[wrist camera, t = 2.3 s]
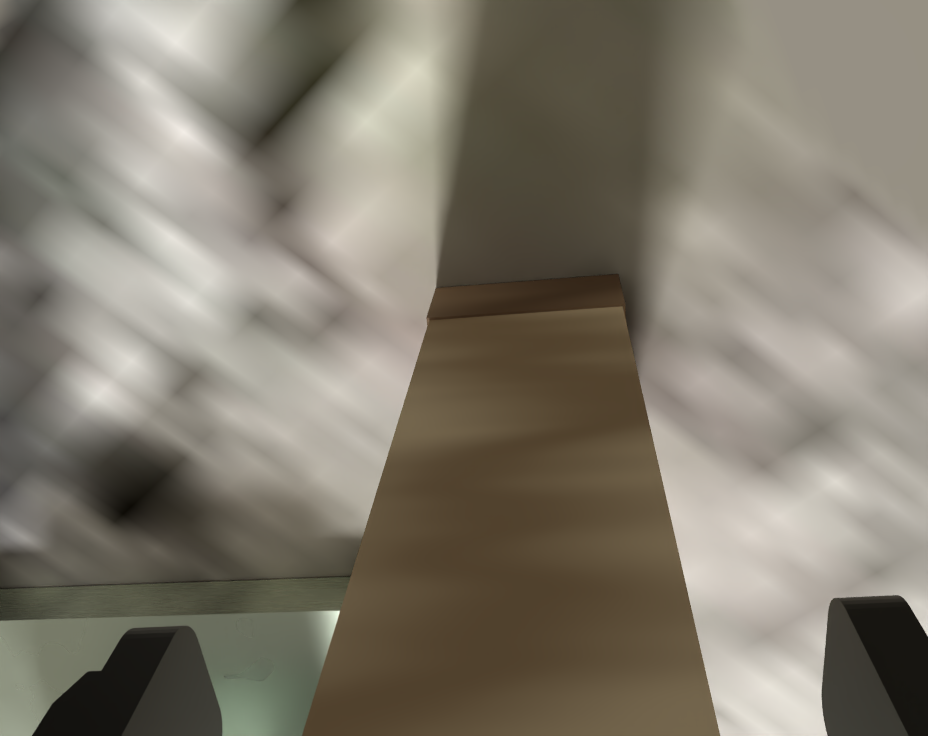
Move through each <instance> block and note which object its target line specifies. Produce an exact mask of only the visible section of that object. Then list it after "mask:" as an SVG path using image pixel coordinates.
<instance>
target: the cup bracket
mask: <svg viewBox="0 0 928 736" xmlns="http://www.w3.org/2000/svg"><path fill="white" fill-rule="evenodd" d="M349 580H350V577H331V578H303V579H274V580H246V581H217V582H189V583H160V584H132V585H103V586H75V587H46V588H18V589H0V736H32V735H33V733H34V731H35V730H36V728H37V727H38V725H39V724H40V722H41V721H42V719H43V717H44V716H45V714H46V713H47V711H48V710H49V708H50V706H51V705H52V703H53V702H55V701H56V700H57V699H58V698H59V697H60V696H61V695H62V694H63V693H64V692H66V691H67V690H68V689H69V688H70V687H71V686H72V685H73V684H74V683H75V682H77V681H78V680H79V679H80V678H81V677H82V676H83V675H84V674H85V673H86V672H88V671H101V670H102V669H103V667H104V665H105V664H106V662H107V660H108V659H109V657H110V655H111V654H112V652H113V650H114V649H115V647H116V645H117V644H118V642H119V640H120V639H121V637H122V636H123V635H124V634H125V633H126V632H127V631H128V630H129V629H132V628H144V627H166V626H189V627H191V628H192V629H193V630H194V632H195V633H196V636H197V638H198V641H199V644H200V647H201V651H202V654H203V657H204V660H205V663H206V666H207V669H208V672H209V675H210V679H211V682H212V685H213V688H214V691H215V694H216V697H217V700H218V703H219V707H220V710H221V716H222V736H302V734H303V730H304V727H305V724H306V721H307V717H308V714H309V711H310V707H311V704H312V701H313V698H314V694H315V691H316V688H317V685H318V681H319V678H320V675H321V672H322V668H323V665H324V662H325V659H326V655H327V652H328V649H329V646H330V642H331V639H332V636H333V633H334V629H335V626H336V623H337V620H338V616H339V613H340V610H341V607H342V603H343V600H344V597H345V594H346V590H347V587H348V584H349Z"/></svg>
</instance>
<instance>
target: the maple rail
mask: <svg viewBox="0 0 928 736" xmlns="http://www.w3.org/2000/svg"><path fill="white" fill-rule="evenodd" d="M427 325H428V326H427V330H426V333H425V336H424V339H423V343H422V346H421V349H420V352H419V356H418V359H417V362H416V366H415V369H414V372H413V375H412V379H411V382H410V385H409V388H408V392H407V395H406V398H405V401H404V405H403V408H402V411H401V414H400V418H399V421H398V424H397V427H396V431H395V434H394V437H393V440H392V444H391V447H390V450H389V453H388V457H387V460H386V463H385V466H384V470H383V473H382V476H381V480H380V483H379V486H378V489H377V493H376V496H375V499H374V502H373V506H372V509H371V512H370V515H369V519H368V522H367V525H366V528H365V532H364V535H363V538H362V541H361V545H360V548H359V551H358V554H357V558H356V561H355V564H354V567H353V571H352V574H351V577H350V580H349V584H348V587H347V590H346V594H345V597H344V600H343V603H342V607H341V610H340V613H339V616H338V620H337V623H336V626H335V629H334V633H333V636H332V639H331V642H330V646H329V649H328V652H327V655H326V659H325V662H324V665H323V668H322V672H321V675H320V678H319V681H318V685H317V688H316V691H315V694H314V698H313V701H312V704H311V707H310V711H309V714H308V717H307V721H306V724H305V727H304V730H303V734H302V736H720V733H719V729H718V724H717V720H716V715H715V711H714V707H713V702H712V698H711V693H710V689H709V685H708V680H707V676H706V671H705V667H704V663H703V658H702V654H701V649H700V645H699V641H698V636H697V632H696V627H695V623H694V619H693V614H692V610H691V605H690V601H689V597H688V592H687V588H686V583H685V579H684V575H683V570H682V566H681V561H680V557H679V553H678V548H677V544H676V539H675V535H674V531H673V526H672V522H671V517H670V513H669V508H668V504H667V500H666V495H665V491H664V486H663V482H662V478H661V473H660V469H659V464H658V460H657V456H656V451H655V447H654V442H653V438H652V434H651V429H650V425H649V420H648V416H647V412H646V407H645V403H644V398H643V394H642V390H641V385H640V381H639V376H638V372H637V368H636V363H635V359H634V354H633V350H632V346H631V341H630V337H629V332H628V328H627V324H626V311H625V300H624V296H623V292H622V288H621V283H620V279H619V275H618V274H612V275H599V276H586V277H573V278H560V279H547V280H534V281H521V282H508V283H495V284H482V285H468V286H455V287H442V288H436V289H435V293H434V296H433V299H432V302H431V305H430V308H429V312H428V315H427Z"/></svg>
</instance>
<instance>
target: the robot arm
mask: <svg viewBox="0 0 928 736" xmlns="http://www.w3.org/2000/svg"><path fill="white" fill-rule="evenodd" d="M822 708H823V716H824V722H825V726H826V731H827V735H828V736H928V636H927V635H926V633H925V631H924V630H923V628H922V626H921V625H920V623H919V621H918V620H917V618H916V616H915V615H914V613H913V611H912V610H911V608H910V606H909V605H908V603H907V602H906V601H905V600H904V599H903V598H902V597H901V596H898V595H893V596H871V597H849V598H834V599H833V600H832V601H831V603H830V606H829V611H828V622H827V634H826V646H825V658H824V670H823V682H822ZM32 736H222V716H221V710H220V707H219V703H218V700H217V697H216V694H215V691H214V688H213V685H212V682H211V679H210V675H209V672H208V669H207V666H206V663H205V660H204V657H203V654H202V651H201V647H200V644H199V641H198V638H197V636H196V633H195V632H194V630H193V629H192V628H191V627H189V626H166V627H144V628H132V629H129V630H128V631H127V632H126V633H125V634H124V635H123V636H122V637H121V639H120V640H119V642H118V644H117V645H116V647H115V649H114V650H113V652H112V654H111V655H110V657H109V659H108V660H107V662H106V664H105V665H104V667H103V669H102V670H101V671H88V672H86V673H85V674H84V675H83V676H82V677H81V678H80V679H79V680H78V681H77V682H75V683H74V684H73V685H72V686H71V687H70V688H69V689H68V690H67V691H66V692H64V693H63V694H62V695H61V696H60V697H59V698H58V699H57V700H56V701H55V702H53V703H52V705H51V706H50V708H49V710H48V711H47V713H46V714H45V716H44V717H43V719H42V721H41V722H40V724H39V725H38V727H37V728H36V730H35V731H34V733H33V735H32Z"/></svg>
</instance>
